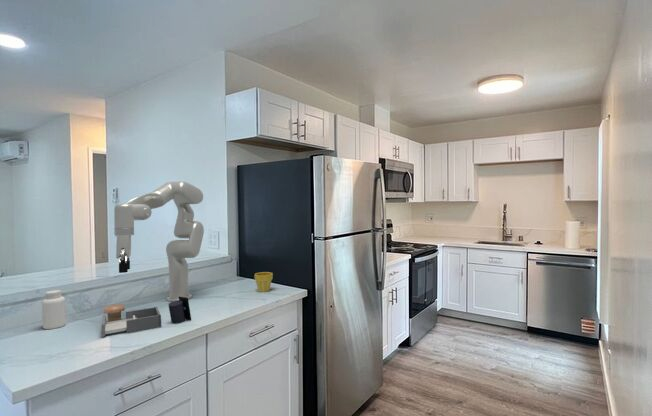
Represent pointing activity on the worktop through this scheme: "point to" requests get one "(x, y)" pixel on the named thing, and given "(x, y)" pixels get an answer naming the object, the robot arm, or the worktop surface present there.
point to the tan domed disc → (114, 308)
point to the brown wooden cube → (114, 316)
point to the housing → (143, 319)
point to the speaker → (179, 310)
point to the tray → (114, 325)
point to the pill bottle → (53, 310)
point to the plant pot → (263, 281)
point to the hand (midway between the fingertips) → (124, 270)
